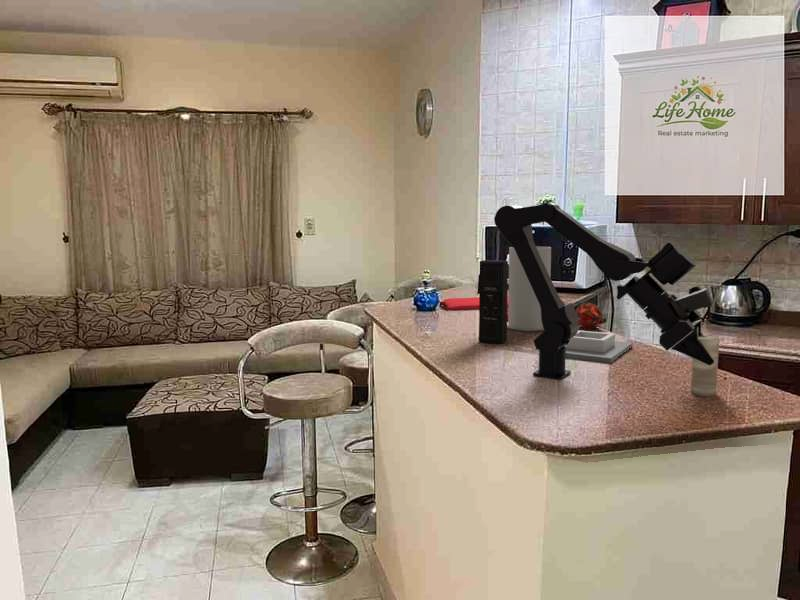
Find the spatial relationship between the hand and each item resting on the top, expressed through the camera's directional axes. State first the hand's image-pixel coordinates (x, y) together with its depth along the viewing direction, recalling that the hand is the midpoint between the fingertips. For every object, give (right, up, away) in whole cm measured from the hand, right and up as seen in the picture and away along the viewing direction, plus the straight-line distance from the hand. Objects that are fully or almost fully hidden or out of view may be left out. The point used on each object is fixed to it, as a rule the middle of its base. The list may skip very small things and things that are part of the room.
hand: (713, 361), depth 117 cm
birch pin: (-1, -6, +2) cm, 7 cm away
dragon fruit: (-2, +3, +70) cm, 70 cm away
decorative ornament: (-26, +5, +88) cm, 92 cm away
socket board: (-12, -1, +39) cm, 41 cm away
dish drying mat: (-24, +9, +118) cm, 121 cm away
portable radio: (-35, 0, +53) cm, 63 cm away
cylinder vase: (-20, +3, +72) cm, 74 cm away
